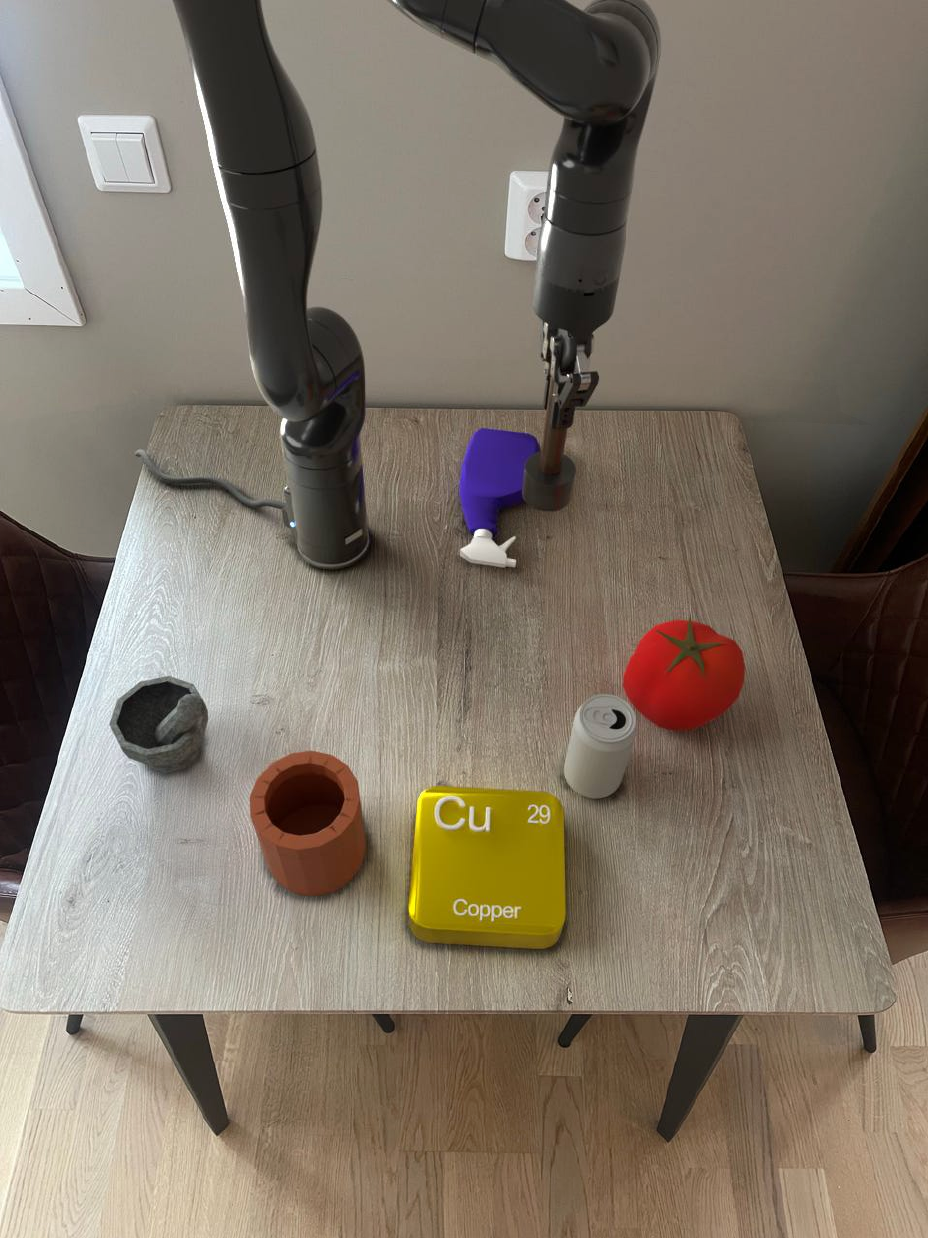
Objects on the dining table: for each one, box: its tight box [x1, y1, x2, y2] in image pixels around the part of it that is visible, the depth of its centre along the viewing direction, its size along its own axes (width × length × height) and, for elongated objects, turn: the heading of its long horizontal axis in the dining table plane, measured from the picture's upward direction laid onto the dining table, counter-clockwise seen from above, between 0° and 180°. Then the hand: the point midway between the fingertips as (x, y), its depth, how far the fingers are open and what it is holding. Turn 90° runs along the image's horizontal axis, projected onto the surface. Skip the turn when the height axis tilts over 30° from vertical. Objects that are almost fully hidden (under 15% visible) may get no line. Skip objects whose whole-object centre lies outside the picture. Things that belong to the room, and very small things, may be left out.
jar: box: [249, 750, 367, 897], centre depth 91 cm, size 10×10×11 cm
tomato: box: [622, 612, 746, 732], centre depth 103 cm, size 12×13×12 cm
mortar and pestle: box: [108, 675, 209, 774], centre depth 98 cm, size 11×9×12 cm
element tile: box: [407, 785, 567, 950], centre depth 92 cm, size 15×15×5 cm
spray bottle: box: [458, 427, 541, 568], centre depth 127 cm, size 3×11×24 cm
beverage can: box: [563, 693, 638, 799], centre depth 97 cm, size 6×6×12 cm
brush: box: [522, 376, 577, 513], centre depth 98 cm, size 6×6×16 cm
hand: (557, 416), depth 95 cm, fingers closed on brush, 2 cm apart
